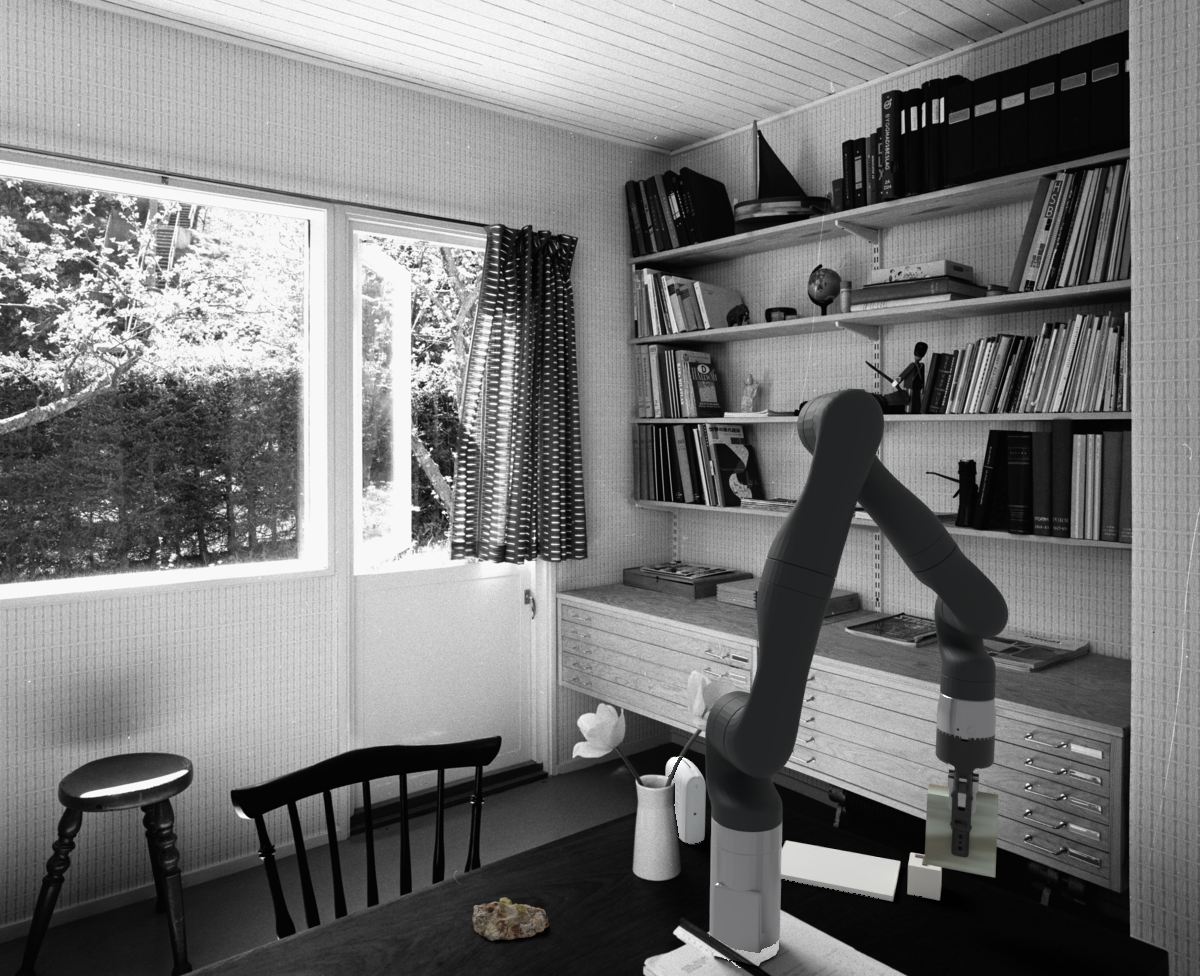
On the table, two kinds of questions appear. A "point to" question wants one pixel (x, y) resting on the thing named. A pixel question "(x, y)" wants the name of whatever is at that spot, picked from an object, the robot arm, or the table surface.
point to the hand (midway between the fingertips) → (960, 848)
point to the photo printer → (688, 800)
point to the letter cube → (923, 878)
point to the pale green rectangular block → (979, 839)
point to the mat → (839, 870)
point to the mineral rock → (508, 920)
